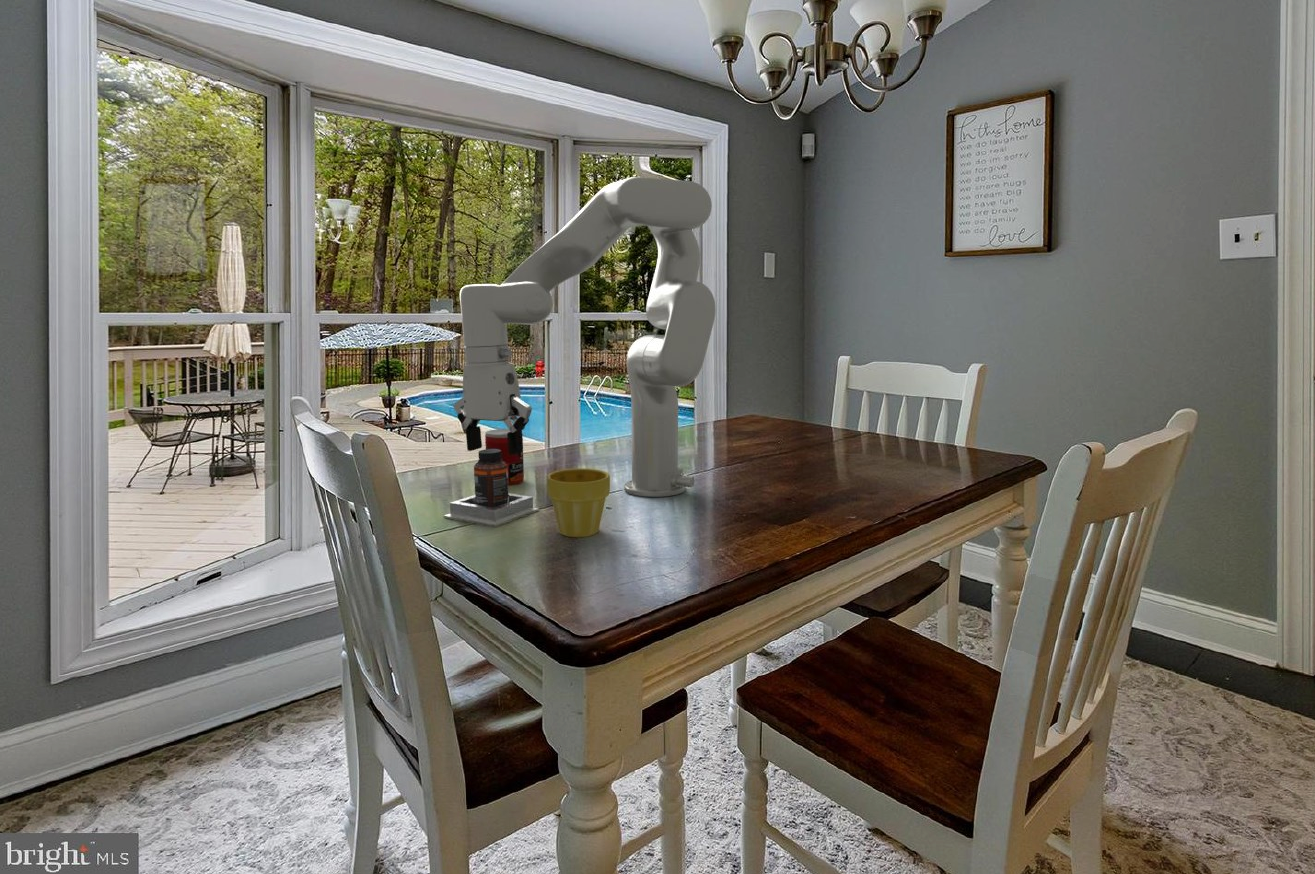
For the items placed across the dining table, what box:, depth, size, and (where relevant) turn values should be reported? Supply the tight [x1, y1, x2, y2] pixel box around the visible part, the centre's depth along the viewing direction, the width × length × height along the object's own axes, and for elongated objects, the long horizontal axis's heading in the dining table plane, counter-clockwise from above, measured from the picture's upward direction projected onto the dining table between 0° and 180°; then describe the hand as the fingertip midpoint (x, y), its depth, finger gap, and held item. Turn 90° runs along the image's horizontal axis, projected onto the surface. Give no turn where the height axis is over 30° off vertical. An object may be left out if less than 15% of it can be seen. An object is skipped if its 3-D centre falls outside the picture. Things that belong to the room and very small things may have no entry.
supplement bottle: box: [473, 448, 510, 508], centre depth 133 cm, size 6×6×11 cm
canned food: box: [484, 428, 525, 486], centre depth 158 cm, size 8×8×11 cm
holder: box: [443, 492, 540, 528], centre depth 133 cm, size 12×12×3 cm
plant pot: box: [546, 467, 611, 538], centre depth 122 cm, size 10×10×10 cm
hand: (495, 451), depth 132 cm, fingers open, 9 cm apart
